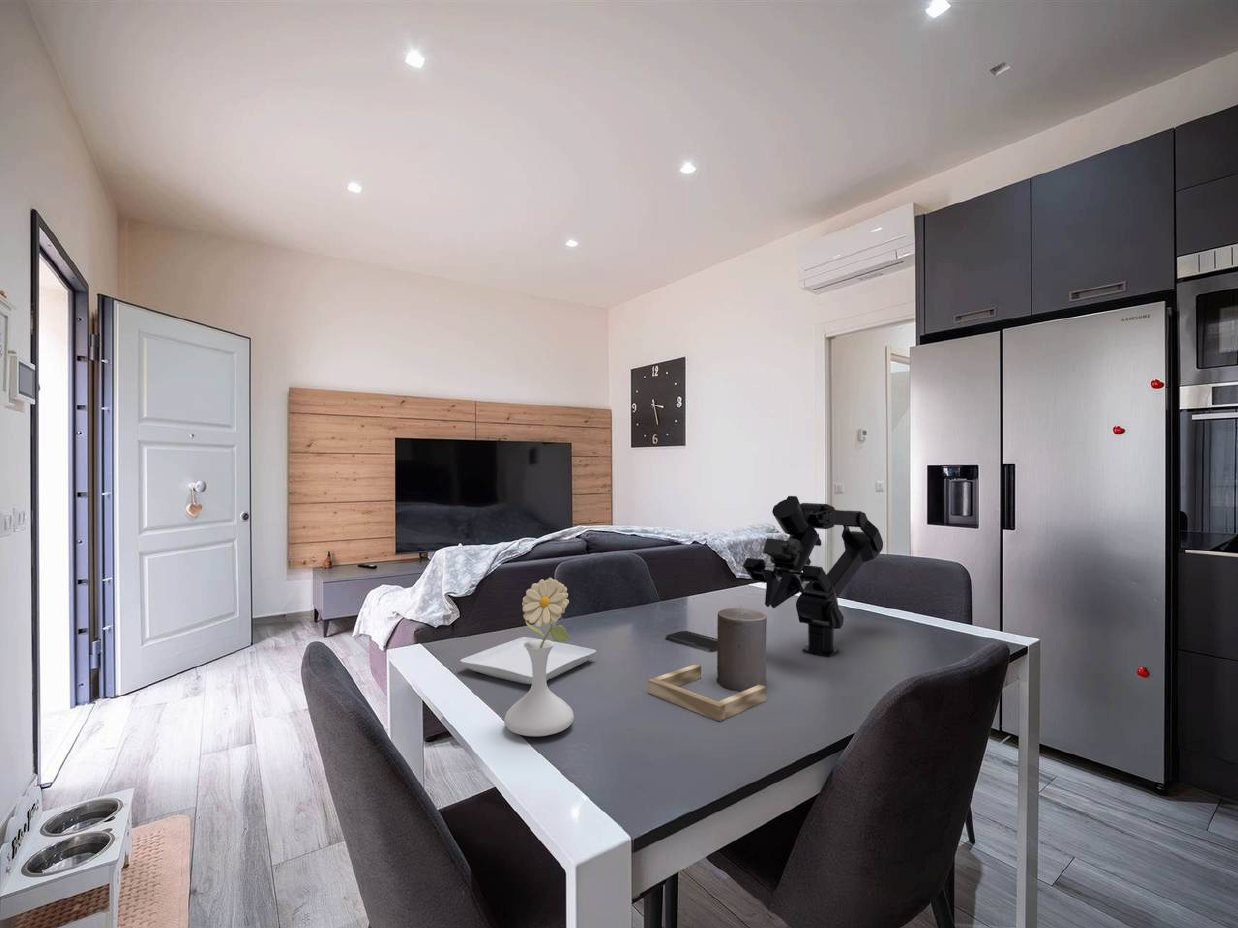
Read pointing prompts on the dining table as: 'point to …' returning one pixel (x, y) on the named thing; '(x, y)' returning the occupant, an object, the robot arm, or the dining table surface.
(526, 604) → the flower in vase
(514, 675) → the salad plate
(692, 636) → the phone
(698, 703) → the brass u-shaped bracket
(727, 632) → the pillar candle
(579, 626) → the dining table surface
